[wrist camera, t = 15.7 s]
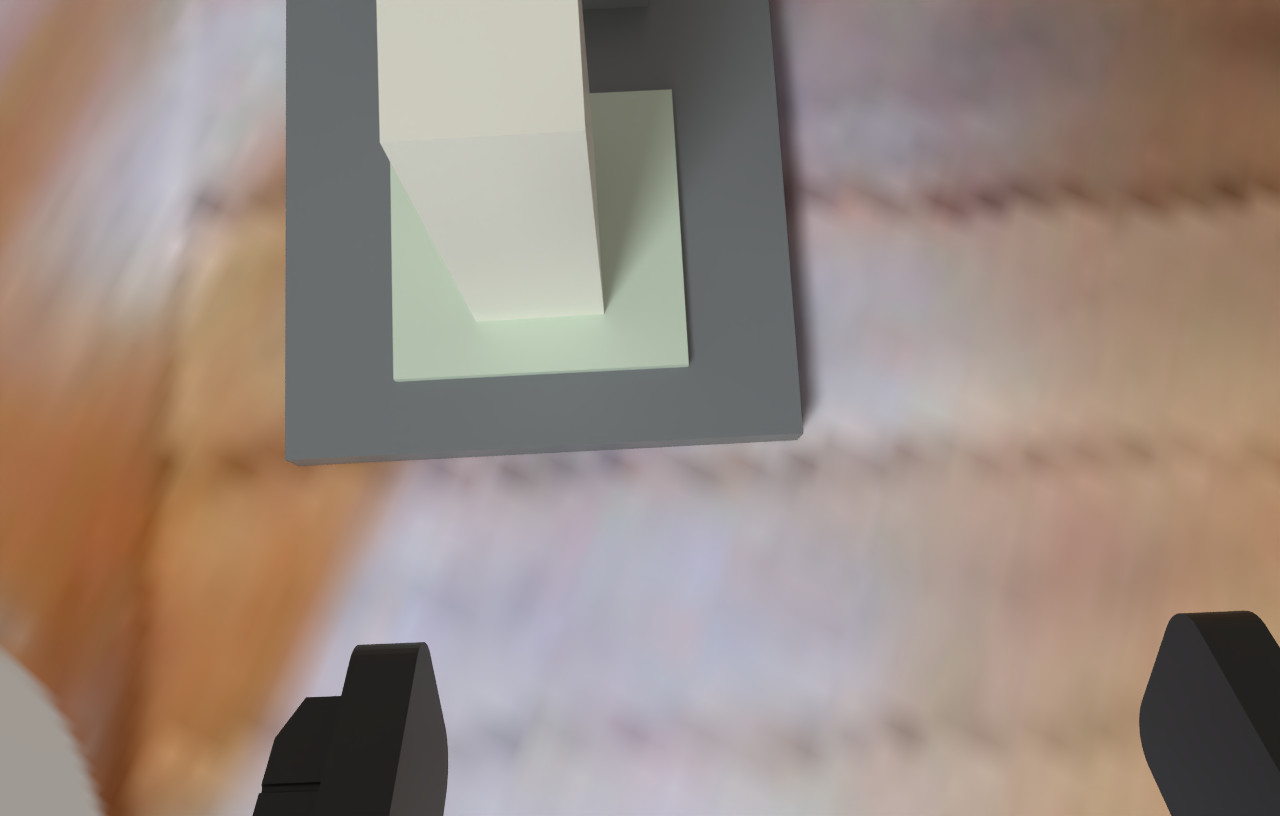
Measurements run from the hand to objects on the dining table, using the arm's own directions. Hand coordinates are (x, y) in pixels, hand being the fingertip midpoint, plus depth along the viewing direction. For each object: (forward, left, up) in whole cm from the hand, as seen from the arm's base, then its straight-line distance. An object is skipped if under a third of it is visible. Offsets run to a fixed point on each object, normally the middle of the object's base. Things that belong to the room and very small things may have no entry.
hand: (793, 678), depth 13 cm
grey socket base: (-15, -10, -19) cm, 26 cm away
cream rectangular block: (-9, -8, -17) cm, 21 cm away
